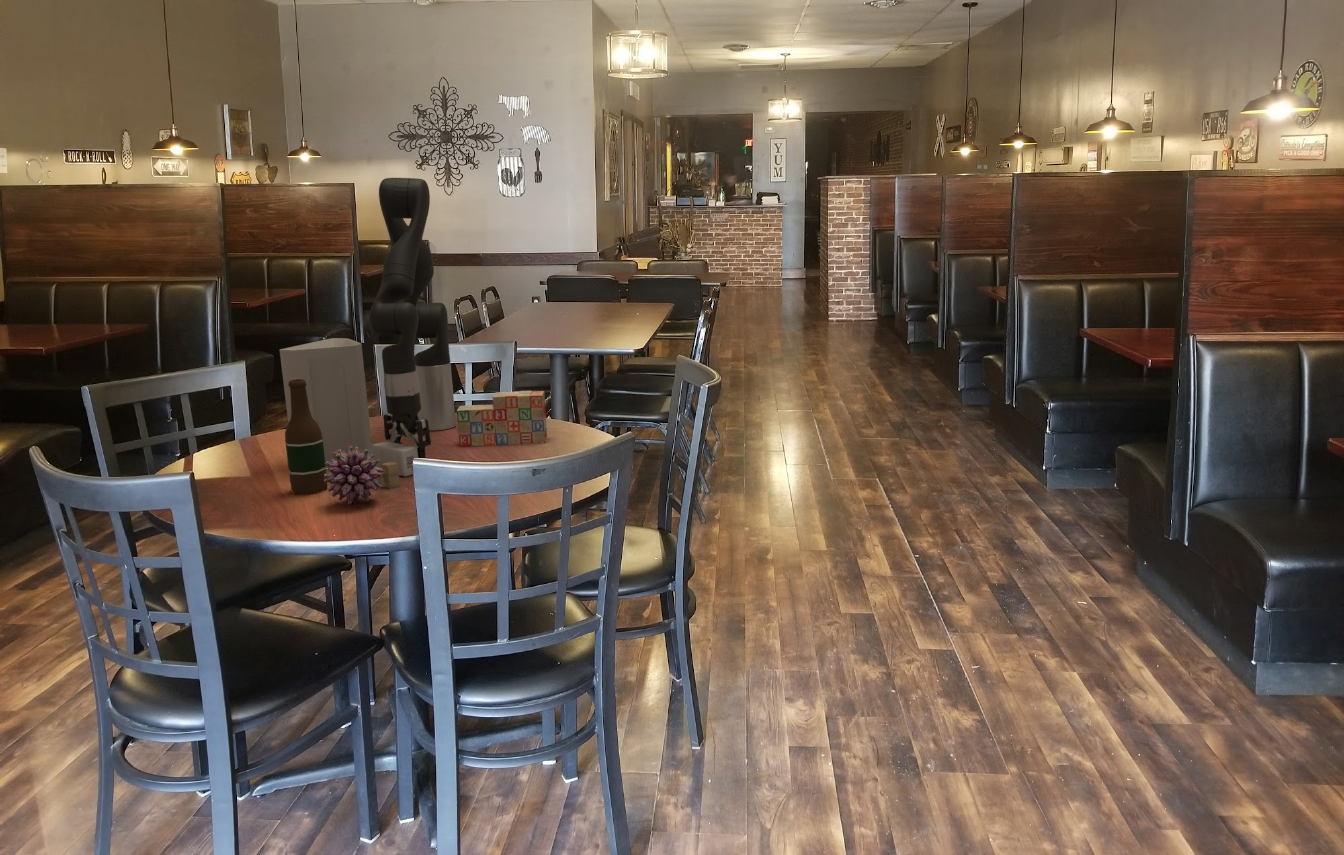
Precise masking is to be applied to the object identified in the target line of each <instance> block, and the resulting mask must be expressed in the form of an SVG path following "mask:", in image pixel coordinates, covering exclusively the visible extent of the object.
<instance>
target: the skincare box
mask: <svg viewBox="0 0 1344 855" xmlns="http://www.w3.org/2000/svg"><path fill="white" fill-rule="evenodd" d="M372 452H373V455H374V457H373V461H374V460H377V459H379V461H380V462H378V463H377V465H376V466H375V467H378V468H382V464H385V463H389V462H394V463H398V473H399V477H400V476H401V477H405V478H406V477H408V476H412V475H413V474H412V460H413V459H414V458H418V451H417V447H414V445H408V444H403V443H402V444H398V443H393V442H390V441H388V440H386V441H382V442H381V441H380V442H378V443H372Z"/></svg>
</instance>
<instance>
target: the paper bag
mask: <svg viewBox="0 0 1344 855" xmlns="http://www.w3.org/2000/svg"><path fill="white" fill-rule="evenodd" d="M279 357H280V363H281V374H282V382H283V389H284V398H285V407H286V415H287V422H288V423H289V421H290V419H291V396H290V387H289V386H288V384H289V381H291V380H295V379H303V380H305V381H306V384H307V385H306V386H305V387H306V392H307V398H308V403H309V409H310V413H311V416H312V418H313V419H314V420H315V422H316V423H317V424H318V426H319V428H320V430H321V433H322V438H323V447H324V455H325V463H326V461H328V462H332V461H331V460H332V459H333V457H332V453H333V452H337V451H338V450H339V449H341V450H342V451H346V452H347V454H348V452H349V450H350V447H353V450H355V448H356V447H359V453H360V454H361V453H363V452H364V451H365V449H367V450H368V453H367V456H369V455H371V454H373V452H372V444H373V443H372V442H373V441H372V432H371V423H370V415H369V405H368V396H367V394H368V393H367V384H366V374H365V367H364V366H365V364H364V356H363V346H362V343H361V342H358V341H356V340H354V339H350V338H346V337H345V338H344V337H343V338H342V337H339V338H338V337H336V338H335V337H333V338H332V337H331V338H327V339H322V340H319V341H314V342H309V343H303V344H299V345H295V346H291V347H285V348H281V349H279ZM288 423H287V424H288ZM372 460H373V459H372ZM373 461H374V460H373ZM326 468H329V467H328V466H327V465H326Z"/></svg>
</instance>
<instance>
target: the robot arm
mask: <svg viewBox="0 0 1344 855" xmlns="http://www.w3.org/2000/svg"><path fill="white" fill-rule="evenodd" d="M430 199H431V195H430V189H429V185H428V183H427V181H426V180H425V179H423V178H415V177H386V178H384V179H382V180H381V181H380V184H379V186H378V200H379V205H380V209H381V213H382V216H383V220H384V224H385V227H386V230H387V232H388V237H389V241H390V245H391V246H390V247H391V248H390V249H389V250H388V252H387V254H386V256H385V259H384V262H383V267H382V268H383V269H382V275H381V276H382V277H381V284H380V287H379V290H378V292H377V295H376V297H375V299H374V301H373V303H372V305H371V308H370V310H369V314H368V323H369V327H370V329H371V330H372V332H373V333H375V334H376V335H379V336H393V335H401V338H400V341H399V342H398V343H394V344H390V345H387V346H385V347H384V348H383V349H382V351H381V360H382V367H383V385H384V395H385V404H386V412H387V413H386V414H383V416H382V418H383V428H384V429H383V430H384V438H385V440H386V441H388V440H389V442H393V443H398V444H403V442H402V441H403V438H404V437H406V438H407V439H408V441H409V442H412V444H413V445H412V446H413V447H417V451H418V458H426V459H427V456H426V455H427V454H426V447H428V446H431V444H432V441H431V440H432V439H431V434H430V431H444V430H449V429H453V428H455V427H456V426H457V424H456V423H457V422H456V411H455V400H454V398H455V397H454V389H453V388H454V385H453V379H452V378H453V376H452V364H451V356H450V347H449V346H450V345H449V344H450V343H449V320H448V319H449V318H448V310H447V307H446V305H445V304H444V303H443V302H426V303H418V301H419V298H420V297H421V295H422V294H423V293H424V292H425V290H426V288H428V286H429V285H430V283H431V281H432V279H433V277H434V274H435V273H434V271H435V268H434V261H433V257H432V252H431V251H432V250H431V249H430V247H429V245H428V244H427V243H426V242H425V241H424V240H423V236H424V232H425V228H426V225H427V220H428V217H429V216H428V215H429V212H430V211H429V210H430V204H431V200H430ZM405 219H410V222H409V224H407V222H406V221H405ZM400 301H402V302H400ZM420 339H423V340H424V339H425V340H426V339H435V340H436V341H435V343H434V344H433V345H432V346H430V347H428V348H426V349H424V350H421V351H419V352H417V353H415V346H416V344H415V343H416V340H420ZM390 430H391V431H390ZM424 437H425V438H424Z"/></svg>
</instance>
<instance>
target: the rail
mask: <svg viewBox="0 0 1344 855" xmlns="http://www.w3.org/2000/svg"><path fill="white" fill-rule="evenodd" d="M343 452H344V453H346V454H347V452H346V451H343ZM336 454H338V452H333V453H332V457H333V459H334V460H337V457H336ZM374 468H377V469H383V472H382V476H379V477H377V478H376V479H375V480H376V481H378V483H379V484H380V485H382V487H383V488H387V489H394V488H397V487H400V486H401V484H400V475H399V473H398V463H394V462H389V463H385V464H382V468H378V467H374ZM382 487H381V488H382Z"/></svg>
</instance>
